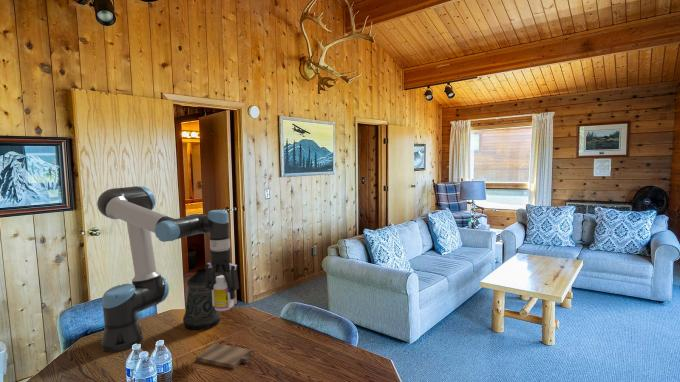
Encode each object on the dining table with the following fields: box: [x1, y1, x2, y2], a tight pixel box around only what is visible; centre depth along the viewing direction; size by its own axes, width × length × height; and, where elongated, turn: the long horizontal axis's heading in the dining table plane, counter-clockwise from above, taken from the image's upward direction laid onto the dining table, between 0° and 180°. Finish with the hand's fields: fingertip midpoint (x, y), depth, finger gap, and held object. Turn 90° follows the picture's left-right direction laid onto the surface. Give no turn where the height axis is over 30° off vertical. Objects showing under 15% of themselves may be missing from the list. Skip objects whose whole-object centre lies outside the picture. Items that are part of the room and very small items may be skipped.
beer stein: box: [182, 268, 222, 332], centre depth 171 cm, size 16×19×25 cm
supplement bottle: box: [214, 274, 231, 312], centre depth 146 cm, size 7×7×13 cm
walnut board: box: [195, 342, 252, 369], centre depth 140 cm, size 19×11×2 cm, turn 70°
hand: (223, 305), depth 147 cm, fingers closed on supplement bottle, 7 cm apart
